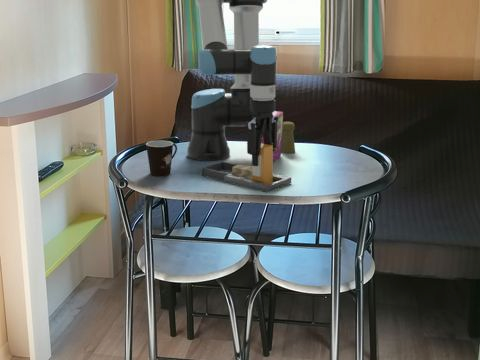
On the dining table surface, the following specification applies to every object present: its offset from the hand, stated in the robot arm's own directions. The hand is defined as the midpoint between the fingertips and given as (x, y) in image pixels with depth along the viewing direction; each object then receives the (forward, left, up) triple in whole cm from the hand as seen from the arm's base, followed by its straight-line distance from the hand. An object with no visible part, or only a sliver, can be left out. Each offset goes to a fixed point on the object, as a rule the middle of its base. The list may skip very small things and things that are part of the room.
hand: (261, 173), depth 208 cm
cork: (-17, +38, -3) cm, 42 cm away
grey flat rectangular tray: (-2, 0, -3) cm, 4 cm away
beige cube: (-8, 0, -3) cm, 9 cm away
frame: (-15, 0, -3) cm, 15 cm away
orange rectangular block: (0, 0, -3) cm, 3 cm away
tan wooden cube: (-4, 0, -3) cm, 5 cm away
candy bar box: (-15, +25, -3) cm, 29 cm away
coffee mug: (-31, -11, -3) cm, 33 cm away
